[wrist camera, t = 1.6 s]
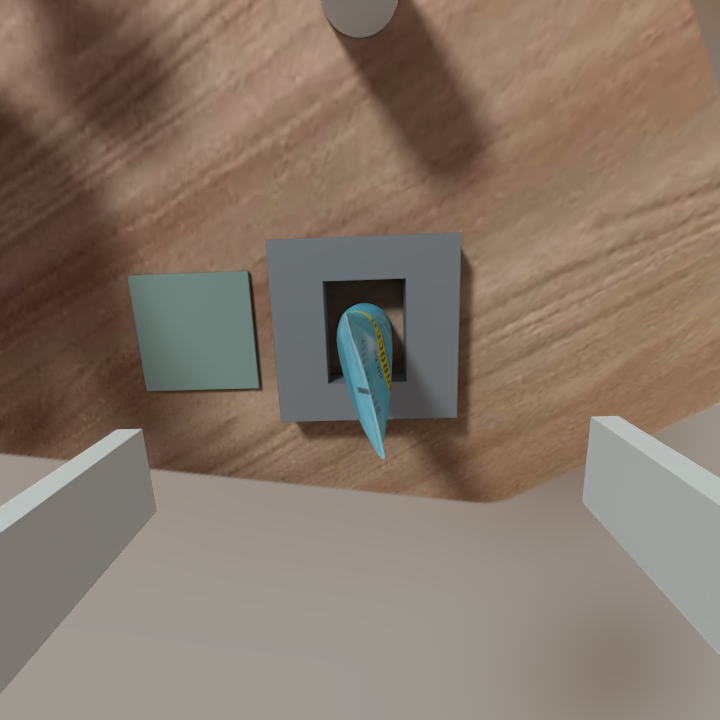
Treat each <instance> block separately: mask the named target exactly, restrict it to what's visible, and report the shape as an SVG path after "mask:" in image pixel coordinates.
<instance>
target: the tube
mask: <svg viewBox="0 0 720 720" xmlns="http://www.w3.org/2000/svg"><path fill="white" fill-rule="evenodd" d="M337 347H338V353H339V359H340V363H341V367H342V371H343V375H344V378H345V382H346V385H347V388H348V391H349V394H350V397H351V400H352V403H353V406H354V409H355V411H356V414H357V416H358V418H359V421H360V423H361V425H362V427H363V429H364V431H365V433H366V435H367V437H368V439H369V440H370V442H371V444H372V445H373V447H374V449H375V450H376V452H377V454H378V455H379V456H380V458H382V459H383V460H384V459H385V453H384V448H383V441H384V436H385V430H386V423H387V416H388V409H389V401H390V391H391V374H392V332H391V325H390V321H389V318H388V316H387V315H386V313H385V312H384V311H383V310H382V309H381V308H379V307H378V306H376V305H373V304H370V303H360V304H356V305H354V306H352V307H350V308H349V309H347V310H346V311H345V313H344V314H343V315H342V317H341V319H340V322H339V326H338V330H337Z"/></svg>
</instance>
